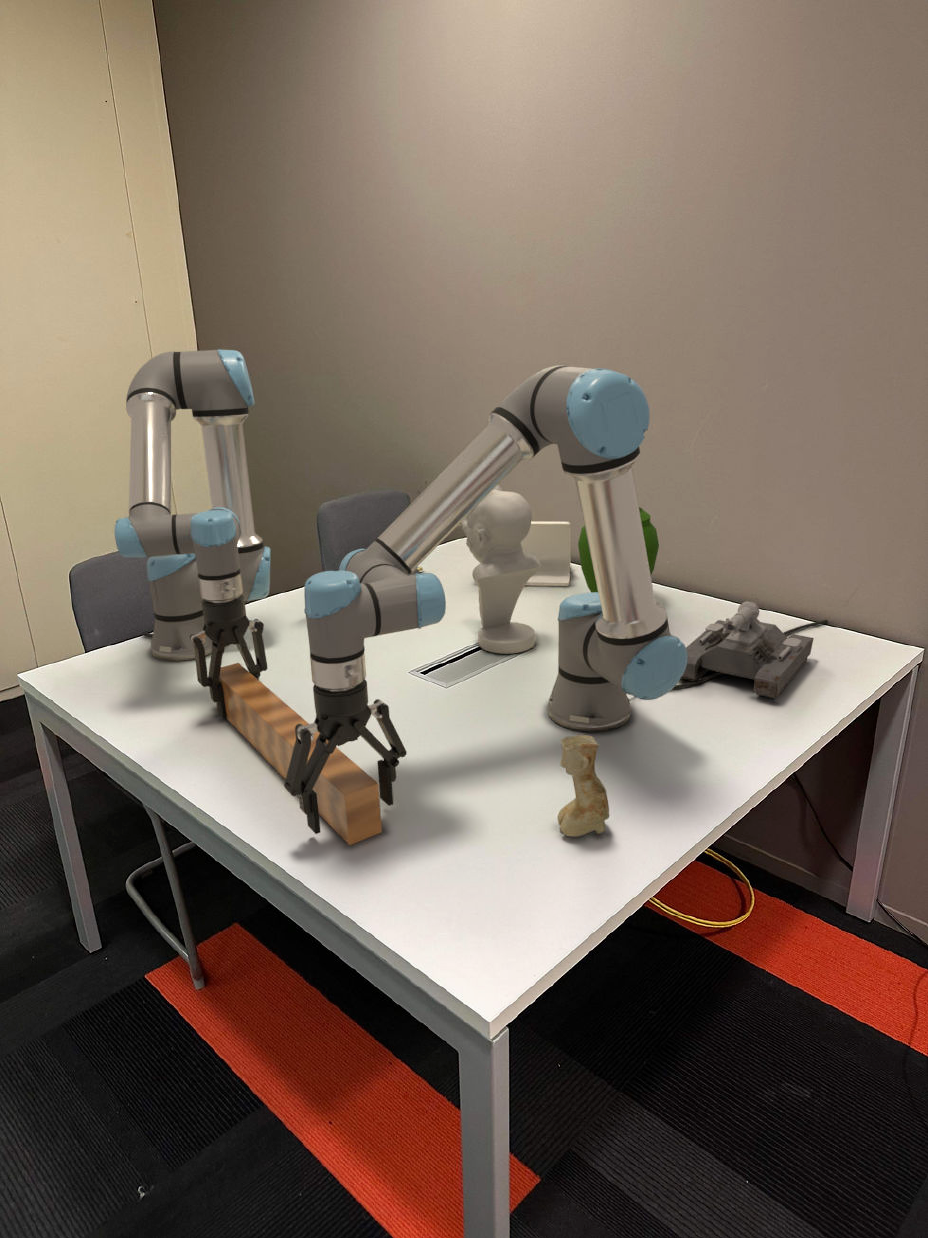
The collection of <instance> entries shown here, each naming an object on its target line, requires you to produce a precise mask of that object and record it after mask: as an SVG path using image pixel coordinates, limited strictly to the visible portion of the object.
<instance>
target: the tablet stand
mask: <svg viewBox="0 0 928 1238" xmlns="http://www.w3.org/2000/svg"><path fill="white" fill-rule="evenodd" d="M520 544H521V547H522V550H523V553H524V554H530V555H533V556H535V557H536V558H537V559H538V560H539V562H540V564H541V566H542V567H541V568H540V569H539V570H538V571H537V572H536V573H535V574H533V576H532V577H531V578H530V579H529V580H528V581H527V583H526V584H525V586H541V587H542V586H543V587H544V586H545V587H546V586H547V587H549V586H551V587H556V586H557V587H569V586H570V580H571V579H570V578H571V565H572V564H571V560H572V558H571V522H569V521H537V520H536V521H533V520H532V521H531V526H530V530H529V532H528V534H527V536H526V537H525V538H524V539H523V540H522V541H521V543H520Z"/></svg>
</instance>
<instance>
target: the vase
mask: <svg viewBox="0 0 928 1238" xmlns="http://www.w3.org/2000/svg"><path fill="white" fill-rule="evenodd" d="M639 511H640V517H641V523H642V528H643V534H644V540H645V546H646V552H647V558H648V563H649V569H650V575H651V576H652V574H653V572H654V570H655V566H656V562H657V557H658V552H659V548H660V544H659V543H660V542H659V537H658V531H657V528H656V527H655V526H654V524H653V523H652V522H651V515H650V514H649V512H647V511H645V510H644V509H643V508H642V507H641V506H639ZM577 546H578V554H579V562H580V569H581V571H582V574H583V577H584V580H585V583H586V585H587V588H588V590H589V592H590V593H592V592H598V589H597V584H596V579H595V574H594V569H593V564H592V559H591V554H590V550H589V545H588V540H587V535H586V530H585V525H583V526H582V527H581V529H580V534H579V538H578V541H577Z"/></svg>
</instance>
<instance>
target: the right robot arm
mask: <svg viewBox="0 0 928 1238" xmlns="http://www.w3.org/2000/svg"><path fill="white" fill-rule="evenodd" d="M650 419H651V418H650V406H649V402H648V399H647V396H646V395H645V392H644V391H643V389H642V387H641V386H640V385H639V384H638V383H637V382H636V381H635V380H634V379H633V378H631V377H630V376H628V375H626V374H624V373H622V372H617V371H615V370H612V369H609V368H603V367H601V368H600V367H598V368H590V367H578V366H571V365H554V366H553V365H552V366H549V367H547V368H544V369H541V370H540V371H538V372H535V373H534V374H532V375H531V376H530V377H528V378H527V379H525V380H524V381H523V382H522V383H521V384H520V385H518V386H517V387H516V388H514V390H513V391H512V392H511V393H509V394H508V395H507V396H506V397H505V398H504V399H503V400H502V401H500V403H499V404H498V405H497V406H496V407H495V408H494V409H493V410H492V411H491V412H490V413H489V414H488V415H487V426H485V427H484V429H482V431H481V432H480V433H479V434H478V435H476V437H474V439H473V440H472V441H471V442H470V443H469V444H468V445H467V446H466V447H465V448H464V449H463V450H462V451H461V452H460V453H459V454H458V455H457V456H456V457H455V458H454V460H452V461H451V462H450V463H449V464H448V466H446V467H445V468H444V469H443V471H442V472H440V474H439V475H438V476H437V477H436V478H435V479H433V481H431V483H429V485H428V486H427V487H426V488H425V489H424V490H423V491H422V492H421V493H420V494H419V495H418V496H417V497H416V498H415V499H414V500H413V501H412V502H411V503H410V504H409V505H408V506H407V507H406V508H405V510H404V511H403V512H401V514H400V515H399V516H398V517H396V518H395V519H394V521H393V522H392V523H391V524H389V526H388V527H387V528H386V529H385V530H384V531H383V532H382V533H381V534H380V535H379V536H378V537H377V538H376V539H375V540H374V541H373V542H372V543H371V544H370V545H369V546H368V547H367V548H357V549H355V550H352V551H350V552H349V553H347V554H346V555H345V556H344V557H343V558H342V560H341V562H340V564H339V568H338V570H326V571H321V572H318V573H314V574H313V575H311V576H310V577H308V578H307V580H305V583H304V589H303V590H304V596H303V597H304V615H305V620H306V630H307V635H308V636H307V637H308V646H309V660H310V662H309V663H310V671H311V681H312V684H313V687H312V692H313V702H314V710H315V718H314V721H313V722H312V723H309V724H308V725H305V726H303V725H302V724H297V725H296V727H295V734H296V741H295V745H294V749H293V753H292V757H291V760H290V764H289V768H288V772H287V776H286V779H285V780H284V784H283V787H284V789H285V790H286V791H287V792H288V793H289V794H290V795H291V796H292V797H296V796H298V802H299V809H300V810H301V812H303V814H305V815H306V821H307V827H309V829H310V830H311V831H312V833H314V834H315V835H318V834H320V833H321V822H320V814H319V812H318V802H317V793H316V792H315V791H314V790H313V787H314V785H315V783H316V781H317V779H318V777H319V775H320V773H321V771H322V769H323V767H324V765H325V763H326V761H327V759H328V757H329V755H330V754H332V753H333V752H334V750H335V748H336V747H340V746H343V745H345V744H347V743H348V742H350V743H351V742H355V741H358V740H359V738H360V737H361V739H363V740H364V741H365V742H366V743H367V744H368V745H369V746H370V748H372V749H373V750H374V751H375V752H376V753H377V754H378V755H379V756H380V757H381V758H382V759H379V760H377V774H378V775H377V776H378V786H379V799H381V800H382V801H383V802H384V803H385V804H386V805H387V806H388V807H390V806H393V805H394V797H393V796H394V794H393V793H394V792H393V783H394V782H396V779H397V772H396V767H398V766H399V765H400V761H399V759H400V758H405V757H406V756H407V754H408V753H407V750H406V747H405V746H404V743H403V742H402V740H401V738H400V736H399V733H398V731H397V729H396V728H395V725H394V723H393V721H392V719H391V717H390V707H389V705H388V704H386V703H385V702H384V701H382V700H381V699H379V698H377V699H375V700H374V701H373V703H372V704H370V705H368V704H369V692H368V690H369V689H368V681H367V680H366V678H367V668H366V665H367V664H366V652H365V639H368V638H375V637H377V636H383V635H388V634H395V633H399V632H405V631H410V630H415V629H418V630H419V629H423V628H425V627H429V626H432V625H435V624H439V623H440V622H441V621H443V618H444V617H445V614H446V609H447V604H446V603H447V602H446V601H447V600H446V594H445V589H444V587H443V584H442V582H441V580H440V578H439V577H438V576H437V575H436V574H434V573H432V572H424V573H423V572H422V573H420V572H418V573H415V574H413V575H410V574H411V573H412V572H413V571H414V570H415V569H416V568H417V567H419V566H420V565H421V564H422V563H423V562H424V560H425V559H426V558H427V557H429V556H430V554H431V553H433V552H434V551H435V549H436V548H437V547H438V546H439V545H440V544H442V543H443V541H444V540H446V538H447V537H448V536H449V535H450V534H451V533H452V532H453V531H454V530H455V529H456V528H458V527H459V526H458V525H459V524H460V523H461V521H462V520H463V519H464V518H465V517H466V516H467V515H468V514H469V513H470V512H471V511H472V510H473V509H474V508H475V507H476V506H477V505H478V504H479V503H480V502H481V501H482V500H483V499H484V498H485V497H486V496H487V495H488V494H489V493H490V492H491V491H492V490H493V489H494V488H495V487H496V486H497V485H498V486H499V484H500V483H501V482H503V480H504V479H505V478H507V476H508V475H509V474H510V473H511V472H512V471H513V470H514V468H516V466H518V464H519V463H520V462H522V461H530V460H532V459H533V458H534V457H535V456H536V455H537V454H538V453H540V451H542V450H543V449H545V448H547V447H548V446H550V445H557V449H558V454H559V459H560V463H561V468H562V471H563V473H565V474H566V475H568V476H570V477H571V478H573V479H574V480H575V485H576V491H577V495H578V500H579V505H580V510H581V515H582V519H583V524H584V525H585V530H586V535H587V540H588V545H589V550H590V554H591V559H592V564H593V569H594V574H595V579H596V584H597V589H598V592H592V593H591V592H583V593H577V594H573V595H570V596H567V597H566V598H564V599H563V600H562V601H561V602H560V604H559V608H558V617H557V621H558V642H557V643H558V644H557V645H558V647H557V648H558V649H557V650H558V653H557V654H558V655H557V656H558V657H557V659H558V661H557V663H558V665H557V670H558V672H557V676H556V679H555V682H554V683H553V684H554V685H553V687H552V691H551V693H550V696H549V698H548V703H547V714H548V716H549V718H550V719H551V720H552V721H553V722H554V723H556V724H557V725H558V726H559V725H560V726H561V727H564V728H567V729H569V730H574V731H578V732H589V733H591V732H594V733H595V732H596V733H597V732H605V731H611V730H614V729H617V728H620V727H623V726H624V725H625V724H626V723H627V722H628V721H629V720H630V718H631V711H632V707H631V701H630V698H629V696H628V695H630V696H633V697H635V698H637V699H639V700H642V701H653V700H656V699H657V700H658V699H659V698H662V697H664V696H666V695H667V694H668V693H669V692H671V691H672V690H676V689H682V688H687V687H692V686H695V685H698V684H701V683H703V682H706V681H709V680H711V679H713V678H716V677H718V676H720V675H723V673H720V672H716V671H715V672H714V673H712V674H710V675H707V676H705V677H701V678H700V679H699V680H696V681H689V682H686V683H685V682H684V683H680V684H678V683H679V681H680V680H681V677H682V675H683V673H684V671H685V669H686V665H687V659H688V655H687V649H686V647H687V646H686V645H685V644H684V642H683V641H682V640H681V639H680V638H679V637H678V636H675V635H672V634H671V631H670V625H669V619H668V613H667V610H666V609H665V607H664V606H663V605H661V604H660V603H657V602H656V599H655V593H654V588H653V580H652V575H650V569H649V563H648V558H647V552H646V546H645V540H644V534H643V528H642V523H641V517H640V511H639V507H640V506H639V505H640V504H639V499H638V495H637V489H636V481H635V477H634V470H633V466H634V464H636V462H637V460H639V458H640V456H641V448H640V446H641V444H642V443H643V441H644V440H645V438H646V435H645V433H646V431H648V430H649V427H650V426H649V425H650ZM584 525H583V526H584ZM457 526H458V527H457ZM828 623H829V620H828V619H824V620H819V621H815V622H811V623H806V624H803V625H800V626H796V627H794V628H790V629H789V630H786V631H783V633H784V634H785V635H788V634H792V633H794V632H797V631H799V630H803V629H807V628H810V627H814V626H815V627H816V626H819V625H824V624H828ZM371 717H374V718H375V720H376V722H377V723H378V726H379V727H380V729H381V731H382V733H383V735H384V737H385V738H386V741H387V743H388V745H389V747H390V749H389V750H388V748H386V746H385V745H383V743H381V741H380V740H379V739H378V738H376V736H375V735H374V734H373V732H371V731H370V730H369V729H368V728H367V724H368V723H369V720H370V719H371ZM316 732H319V733H320V734H319V736H318V738H317V740H316V746H315V748H314V750H313V752H312V754H311V756H310V758H309V760H308V756H309V752H310V748H311V741H313V740H314V734H315V733H316ZM326 740H328V741H329V742H328V744H327V743H326ZM307 760H308V762H307Z"/></svg>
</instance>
